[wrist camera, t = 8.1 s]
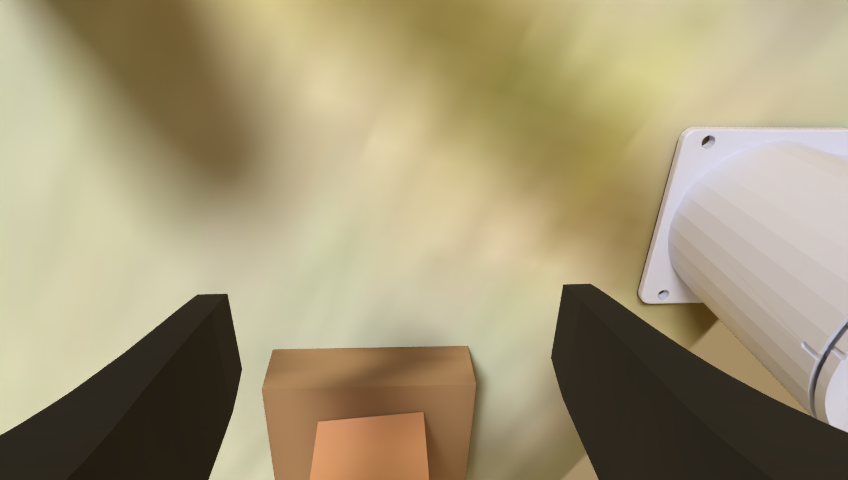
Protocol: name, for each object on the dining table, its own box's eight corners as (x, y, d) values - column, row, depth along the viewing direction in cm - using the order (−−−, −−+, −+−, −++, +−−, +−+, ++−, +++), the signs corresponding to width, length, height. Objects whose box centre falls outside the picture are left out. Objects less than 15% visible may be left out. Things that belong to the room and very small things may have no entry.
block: (466, 339, 25) (476, 384, 22) (454, 467, 29) (461, 517, 26) (274, 342, 24) (261, 389, 22) (290, 473, 28) (281, 525, 26)
